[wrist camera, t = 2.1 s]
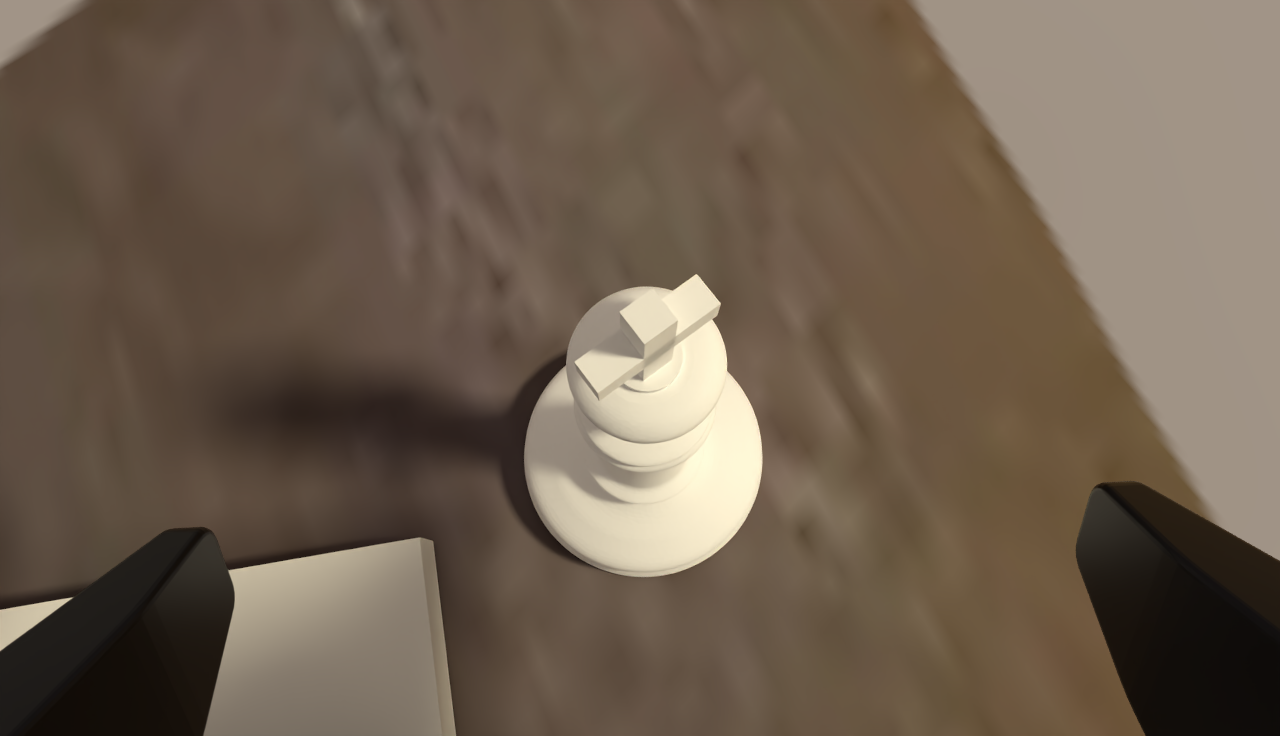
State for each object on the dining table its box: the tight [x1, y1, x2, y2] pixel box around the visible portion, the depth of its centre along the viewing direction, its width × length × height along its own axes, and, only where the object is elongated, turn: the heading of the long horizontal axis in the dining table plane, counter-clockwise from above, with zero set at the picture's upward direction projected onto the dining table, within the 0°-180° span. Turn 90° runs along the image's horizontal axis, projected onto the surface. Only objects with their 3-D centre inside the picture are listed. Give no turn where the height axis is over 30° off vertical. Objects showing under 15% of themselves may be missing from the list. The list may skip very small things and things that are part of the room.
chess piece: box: [524, 274, 762, 577], centre depth 14 cm, size 5×5×10 cm
